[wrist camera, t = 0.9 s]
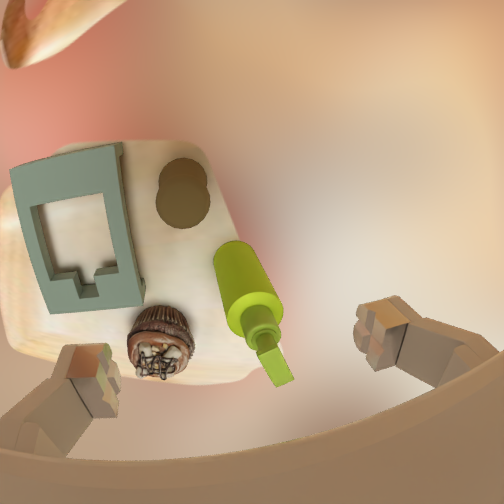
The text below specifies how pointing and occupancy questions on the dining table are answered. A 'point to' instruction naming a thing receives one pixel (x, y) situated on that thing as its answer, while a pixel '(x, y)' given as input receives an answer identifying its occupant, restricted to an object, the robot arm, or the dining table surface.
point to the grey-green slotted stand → (110, 184)
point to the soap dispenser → (252, 306)
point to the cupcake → (160, 343)
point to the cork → (183, 194)
